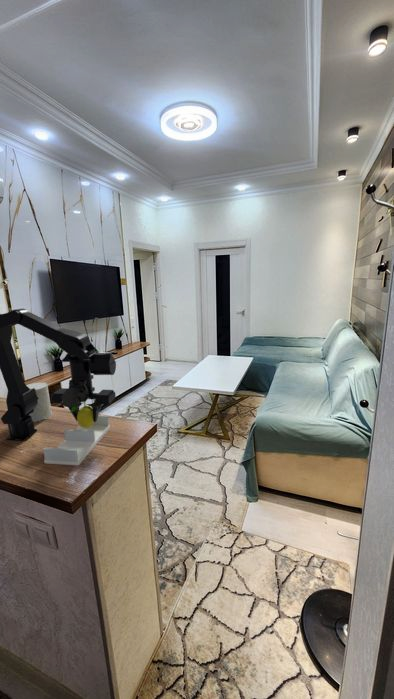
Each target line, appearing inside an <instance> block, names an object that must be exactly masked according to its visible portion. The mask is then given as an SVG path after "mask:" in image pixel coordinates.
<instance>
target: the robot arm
mask: <svg viewBox="0 0 394 699" xmlns="http://www.w3.org/2000/svg"><path fill="white" fill-rule="evenodd" d="M16 325H20V326H22V327H24V328H26V329H27V330H30V331H32V332H34V333H36V334H38V335H40V336H42V337H44V338H46V339H48V340H51V341H52V342H54V343H55V344H56V345H57V346H58V347H59V349H60V350H62V351H63V352H65V353H66V354H65V356H64V357H63V358H62V359H61V362H63V363H69V369H70V376H71V379H70V380H68V388H65V387H63V388H60V389H57V390H56V391H55V392H53V393H52V394H51V397H50V399H51V400H50V402H51V403H52V404H60V405H61V406H64V407H65V408H68V410H69V411H70V412H71V409H72V408H73V407H78V406H79V407H78V408H77V409H76V410H75V411H73V412H72V413H71V415H72V416H73V417H74V419H75V421H76V422H78V421H77V414H78V412H79V410H80V407H81V406H80V404H81V403H83V402H85V403H86V402H87V400H93V402H92V403H90V404H91V405H90V406H89V407H91V408H92V409H93V420H94V422H96V421H97V418H98V415H100V411H101V409H102V406H108V405H110V404H111V403H112V402H113V401H114V400H115V399H116V396H117V395H116V392H115V391H114V389H102V390H101V391H99V392H97V393H96V392H95V390H96V388H95V387H94V386H93V379H94V376H113V375H114V374H116V370H117V369H116V368H117V363H116V362H117V361H116V359H115V357H114V355H113V353H112V351H110V352H109V351H108V352H99V350H98V349H97V348H96V347H95V345H94V344H93V343H92V342H91V340H90V336H88V335H87V334H86V333H83V332H80V331H76V330H73V329H66V328H64V327H61V326H59V325H56V324H55V323H52V322H50V321H49V320H47V319H45V318H42V317H41V316H38V315H37V314H35V313H32V312H31V311H29V310H28V309H26V308H18V309H12V310H11V311H7V312H4V313H0V372H1V375H2V377H3V381H4V383H5V385H6V389H7V394H6V399H5V400H6V401H5V402H6V407H7V410H6V411H5V412H4V414H3V415H2V416H1V417H0V420H1V422H2V424H3V425H8V426H7V427H8V432H9V435H8V436H7V437H6V440H7V441H8V440H9V441H10V440H11V441H26V440H27V439H29V437H31V436H32V435H34V434H35V433H37V431H38V429H37V428H35V424H34V423H35V422H33V421H32V417H31V416H29V415H30V414H31V413H33V412H34V408H35V407H36V406H37V404H38V401H37V400H38V399H39V398H38V397H37V395H36V390H35V388H32V389H30V388H29V387H27V386H26V385H27V384H26V382H25V379H24V376H23V373H22V371H21V367H20V365H19V361H18V359H17V356H16V353H15V351H14V347H13V345H12V337H13V332H14V331H13V326H16Z"/></svg>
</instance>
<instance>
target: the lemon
mask: <svg viewBox="0 0 394 699" xmlns="http://www.w3.org/2000/svg"><path fill="white" fill-rule="evenodd" d="M91 404H92V403H87V404H86V402H81V404H80V406H78V407H79V412H78V414H77V421H76V422H77V424H78V425H79V427H80V426H81V427H86V428H89V427H90V426H92V425H93V424H94V420H93V409H92V407H91V406H90V405H91ZM82 405H83V407H81V406H82ZM78 407H73V408H72V409H71V411H70V412H69V413H70V414H72V412H73V411H75V410H76V409H77V408H78ZM80 407H81V408H80Z"/></svg>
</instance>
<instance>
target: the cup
mask: <svg viewBox="0 0 394 699" xmlns="http://www.w3.org/2000/svg"><path fill="white" fill-rule="evenodd" d="M26 386H27V387H29V388H30V389H32V388H35V390H36V395H37V397H38V398H39V399H38V400H37V401H38V404H37V406H36V407H35V408H34V412H33V413H31V414H30V415H29V416H31V417H32V421H33V423H38V422H37V421H39V422H42V421H41V420H43V419H45V418H48V417H50V416H51V415H53V413H52V406H51V400H50V399H51V397H50V393H49V392H50V391H49V386H48V383H47V382H33V383H29V384H26ZM51 417H52V416H51ZM51 417H50V418H51ZM48 419H49V418H48ZM43 421H44V420H43Z"/></svg>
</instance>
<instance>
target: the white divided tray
mask: <svg viewBox="0 0 394 699" xmlns="http://www.w3.org/2000/svg"><path fill="white" fill-rule="evenodd" d="M110 429H111V424H110V421H109V415H102V414H101V415H100V414H99V415H98V418H97V421H96V422H94V424H93V425H92V426H90V427H89V428H86V427H81V426H80V425H79V426H78V427H77V428H75V429H66V428H65V429H63V432H64V438H65V439H64V441H63V442H61V443H60V444H59V445H58V446H57V447H43V456H44V459H43V460H44V461H43V462H44V464H49V465H50V464H53V465H66V466H80V464H81V463H82V462H83V461H84V460H85V459H86V457H87V456H88V455H89V454H90V453H91V451H92V450H93V449H94V448H95V446H96V445H97V444H98V443H99V442H100V441H101V439H103V437H104V436H105V435H106V434H107V432H108V431H110Z"/></svg>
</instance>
